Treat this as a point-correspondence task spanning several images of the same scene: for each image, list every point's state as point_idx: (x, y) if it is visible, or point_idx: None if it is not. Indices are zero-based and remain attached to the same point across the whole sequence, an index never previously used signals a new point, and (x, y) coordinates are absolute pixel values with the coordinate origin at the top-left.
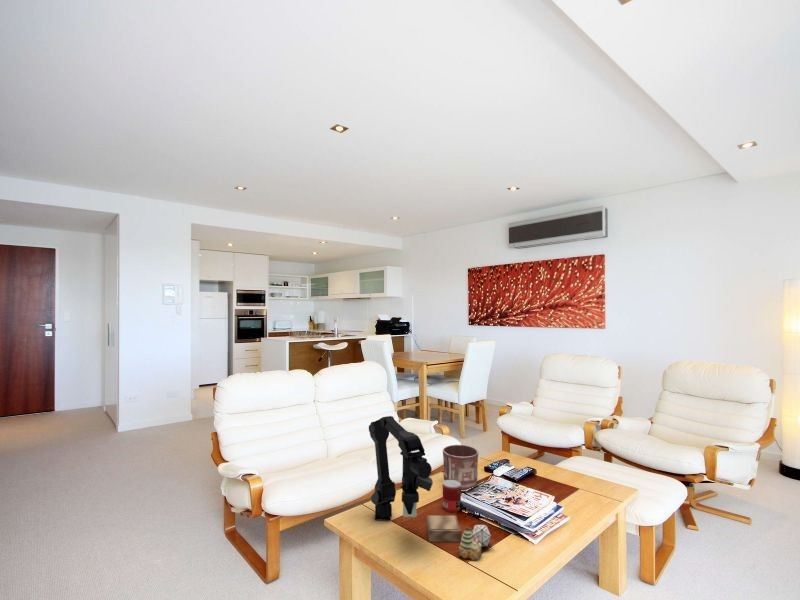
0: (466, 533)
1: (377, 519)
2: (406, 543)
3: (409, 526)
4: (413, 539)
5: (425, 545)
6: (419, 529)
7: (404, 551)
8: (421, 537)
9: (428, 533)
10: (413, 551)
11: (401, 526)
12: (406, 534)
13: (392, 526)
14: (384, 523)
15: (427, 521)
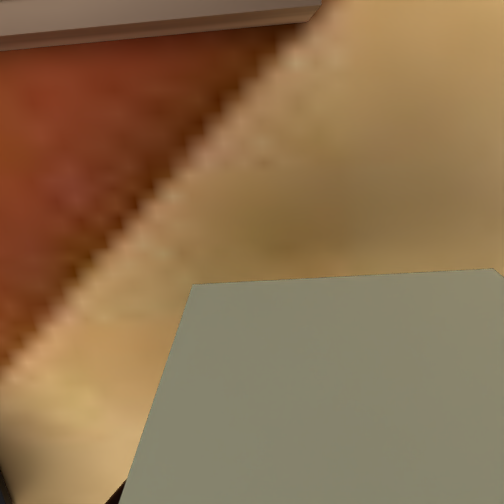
0: None
1: (6, 498)
2: (347, 253)
3: (35, 240)
4: (273, 192)
5: (383, 61)
6: (69, 137)
7: (480, 263)
8: (227, 110)
9: (241, 21)
10: (487, 183)
11: (55, 312)
12: (190, 261)
13: (74, 382)
14: (41, 442)
15: (32, 34)
